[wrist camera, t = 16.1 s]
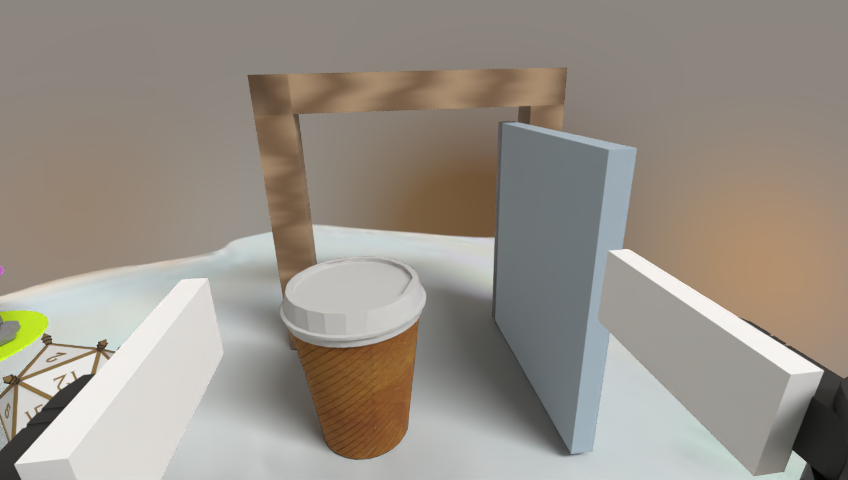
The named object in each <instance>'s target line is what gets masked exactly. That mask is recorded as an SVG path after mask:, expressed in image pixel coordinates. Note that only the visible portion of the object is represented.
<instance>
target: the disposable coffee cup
mask: <svg viewBox="0 0 848 480" xmlns="http://www.w3.org/2000/svg"><path fill="white" fill-rule="evenodd" d="M425 302H426V292H425V289H424V288H423V286H422V285H421V284H420V282H419V278H418V275H417V273H416V271H415V270H414V269H413V268H412V267H411V266H409V265H407V264H405V263H403V262H400V261H398V260H395V259H389V258H384V257H375V256H356V257H346V258H340V259H334V260H330V261H326V262H322V263H319V264H316V265H314V266H311V267H309V268H307V269H305V270H303V271H302V272H300V273H298V274H296V275H295V276H294V277H293V278H292V279H291V280H290V281H289V282H288V284H287V286H286V289H285V297H284V300H283V301H282V304H281V306H280V315H281V319H282V320H283V322H284V324H285V325H286V326H287V327H288V329H289V330H290V331H291V333H292V334H293V338H294V341H295V343H296V347H297V350H298V351H299V352H298V354H299V356H300V359H301V363H302V366H303V370H304V372H305V374H306V375H305V376H306V379H307V381H308V382H307V383H308V385H309V388H310V392H311V395H312V399H313V401H314V402H315V403H314V405H315V408H316V409H317V410H316V411H317V414H318V418H319V421H320V422H321V423H320V424H321V427H322V431H323V434H324V438H325V440H326V443H327V445H328V446H329V447H330V448H331V449H332V450H333V451H334V452H335V453H337V454H339V455H342V456H344V457H347V458H352V459H367V458H373V457H377V456H379V455H382V454H384V453H386V452H388V451H390V450H391V449H393V448H394V447H395V446H396V445H397V444H398V443H400V442H401V440H402V439H403V437H404V436H405V434H406V431H407V429H408V420H409V410H410V400H411V390H412V381H413V370H414V361H415V351H416V342H417V331H418V321H419V316H420V315H421V313H422V309H423V308H424V306H425Z"/></svg>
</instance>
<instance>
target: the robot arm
mask: <svg viewBox="0 0 848 480" xmlns="http://www.w3.org/2000/svg"><path fill="white" fill-rule="evenodd" d="M597 320H598V321H599V322H600V323H601V324H602V325H603V326H604V327H605V328H606V329H607V330H608V331H609V332H610V333H611V334H612V335H613V336H614V337H615V338H616V339H617V340H618V341H619V342H620V343H621V344H622V345H623V346H624V347H625V348H626V349H627V350H628V351H629V352H630V353H631V354H632V355H633V356H634V357H635V358H636V359H637V360H638V361H639V362H640V363H641V364H642V365H643V366H644V367H645V368H646V369H647V370H648V371H649V372H650V373H651V374H652V375H653V376H654V377H655V378H656V379H657V380H658V381H659V382H660V383H661V384H662V385H663V386H664V387H665V388H666V389H667V390H668V391H669V392H670V393H671V394H672V395H673V396H674V397H675V398H676V399H677V400H678V401H679V402H680V403H681V404H682V405H683V406H684V407H685V408H686V409H687V410H688V411H689V412H690V413H691V414H692V415H693V416H694V417H695V418H696V419H697V420H698V421H699V422H700V423H701V424H702V425H703V426H704V427H705V428H706V429H707V430H708V431H709V432H710V433H711V434H712V435H713V436H714V437H715V438H716V439H717V440H718V441H719V442H720V443H721V444H722V445H723V446H724V447H725V448H726V449H727V450H728V451H729V452H730V453H731V454H732V455H733V456H734V457H735V458H736V459H737V460H738V461H739V462H740V463H741V464H742V465H743V466H744V467H745V468H746V469H747V470H748V471H749V472H750V473H751V474H752V475H753V476H758V475H765V474H772V473H778V472H784V470H785V468H786V465H787V463H788V460H789V458H790V455H791V453H792V450H793V451H794V452H796V453H797V454H798V455H799V456H800V457H801V458H803V459H804V460H805V461H806V462H807V463H806V466H805V468H804V470H803V473H802V475H801V478H800V480H848V377H846V378H845V379H843V378H842V377H840V376H838V375H837V374H835V373H834V372H832V371H830V370H828V369H827V368H825V367H824V366H822V365H821V364H819V363H817V362H816V361H814V360H812V359H811V358H809V357H807V356H806V355H804V354H803V353H801V352H799V351H798V350H796V349H794V348H792V347H791V346H786V343H785V342H783V341H781V340H780V339H778V338H777V337H775V336H771V334H770V333H768V332H767V331H765V330H763V329H762V328H760V327H759V326H757V325H755V324H753V323H752V322H750V321H747V320H745V319H742V318H740V317H737V316H735V315H734V314H732V313H730V312H729V311H727V310H726V309H724V308H722V307H721V306H719V305H718V304H716V303H714V302H713V301H711V300H710V299H708V298H706V297H705V296H703V295H701V294H700V293H698V292H697V291H695V290H694V289H692V288H690V287H689V286H687V285H685V284H684V283H682V282H680V281H679V280H677V279H676V278H674V277H673V276H671V275H669V274H668V273H666V272H665V271H663V270H661V269H660V268H658V267H657V266H655V265H653V264H652V263H650V262H648V261H647V260H645V259H644V258H642V257H640V256H639V255H637V254H636V253H634V252H632V251H631V250H629V249H624V250H609V251H608V255H607V262H606V268H605V275H604V281H603V287H602V294H601V300H600V306H599V313H598V319H597ZM223 354H224V351H223V346H222V341H221V337H220V332H219V327H218V323H217V318H216V313H215V309H214V304H213V299H212V295H211V290H210V285H209V281H208V278H196V279H182V280H180V281H179V283H178V284H177V285H176V286H175V287H174V288H173V289H172V290H171V291H170V293H169V294H168V295H167V296H166V297H165V298H164V299H163V300H162V301H161V302H160V304H159V305H158V306H157V307H156V308H155V309H154V310H153V311H152V312H151V314H150V315H149V316H148V317H147V318H146V319H145V320H144V321H143V322H142V324H141V325H140V326H139V327H138V328H137V329H136V330H135V331H134V332H133V333H132V335H131V336H130V337H129V338H128V339H127V340H126V341H125V342H124V343H123V345H122V346H121V347H120V348H119V349H118V350H117V351H116V352H115V353H114V355H113V356H112V357H111V358H110V359H109V360H108V361H107V362H106V363H105V364H104V366H103V367H102V368H101V369H100V370H99V371H98V372H97V373H96V374H87V375H82V376H81V377H79V378H78V379H76V380H75V381H73V382H72V383H70V384H69V385H67V386H66V387H64V388H63V389H61V390H59V391H58V392H57V393H56V394H55V395H54V396H53V397H52V398H51V399H50V400H49V402H48V403H47V404H46V405H45V406H44V407H43V408H42V409H41V412H38V413H37V414H36V415H35V416H34V417H33V418H32V419H31V420H30V421H29V422H28V423H27V426H26V428H22V429H21V430H20V431H19V432H18V433H17V434H16V435H15V436H14V437H13V438H12V440H11V441H10V442H9V443H8V444H7V445H6V446H5V447H4V448H3V449H2V450H1V451H0V480H161V479H162V477H163V475H164V473H165V471H166V469H167V467H168V465H169V463H170V461H171V459H172V457H173V455H174V453H175V451H176V449H177V447H178V445H179V443H180V441H181V439H182V437H183V435H184V433H185V431H186V429H187V427H188V425H189V423H190V421H191V419H192V417H193V415H194V413H195V411H196V409H197V407H198V405H199V402H200V400H201V398H202V396H203V394H204V392H205V390H206V388H207V386H208V384H209V382H210V380H211V378H212V376H213V374H214V372H215V370H216V368H217V366H218V364H219V362H220V360H221V358H222V356H223Z"/></svg>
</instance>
